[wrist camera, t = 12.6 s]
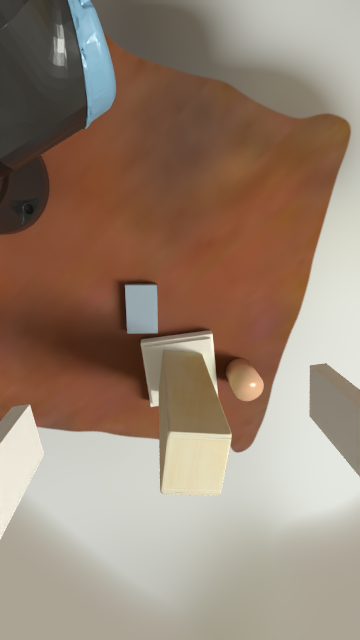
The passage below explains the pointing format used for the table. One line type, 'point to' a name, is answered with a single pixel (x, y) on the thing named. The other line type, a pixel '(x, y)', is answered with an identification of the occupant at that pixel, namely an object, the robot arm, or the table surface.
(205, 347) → the podium
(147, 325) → the book
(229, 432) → the tall cream block
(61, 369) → the table surface
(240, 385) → the peach egg shape
